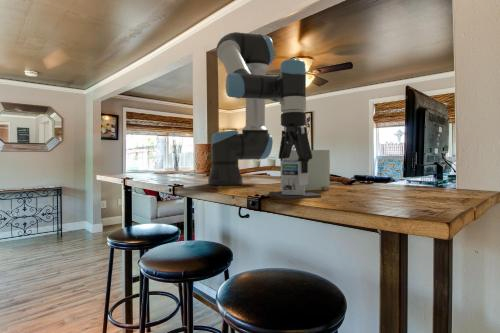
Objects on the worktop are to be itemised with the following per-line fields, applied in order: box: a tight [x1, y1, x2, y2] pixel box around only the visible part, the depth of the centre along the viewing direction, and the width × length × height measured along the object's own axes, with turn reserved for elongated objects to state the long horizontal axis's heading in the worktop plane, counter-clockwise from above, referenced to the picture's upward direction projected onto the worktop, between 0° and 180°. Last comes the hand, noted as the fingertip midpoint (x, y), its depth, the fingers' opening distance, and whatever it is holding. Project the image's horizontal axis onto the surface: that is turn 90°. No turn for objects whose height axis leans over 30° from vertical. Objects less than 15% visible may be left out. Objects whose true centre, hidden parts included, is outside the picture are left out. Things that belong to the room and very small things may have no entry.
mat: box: [268, 190, 322, 200], centre depth 89 cm, size 12×12×1 cm
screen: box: [280, 149, 331, 191], centre depth 101 cm, size 4×18×14 cm, turn 104°
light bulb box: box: [282, 158, 306, 195], centre depth 89 cm, size 11×7×11 cm, turn 170°
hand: (293, 182), depth 89 cm, fingers open, 13 cm apart
